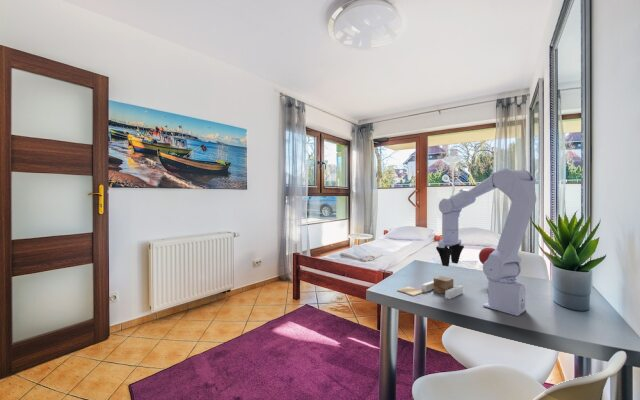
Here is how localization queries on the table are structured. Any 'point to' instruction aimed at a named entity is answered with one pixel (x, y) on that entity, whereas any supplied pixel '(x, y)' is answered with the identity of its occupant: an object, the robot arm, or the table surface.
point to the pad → (410, 291)
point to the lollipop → (485, 254)
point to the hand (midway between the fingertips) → (450, 264)
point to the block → (442, 284)
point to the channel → (448, 293)
